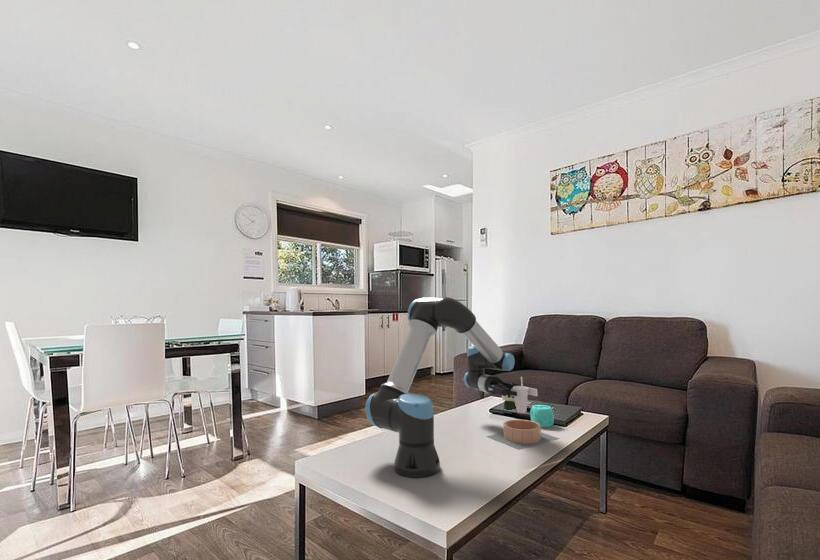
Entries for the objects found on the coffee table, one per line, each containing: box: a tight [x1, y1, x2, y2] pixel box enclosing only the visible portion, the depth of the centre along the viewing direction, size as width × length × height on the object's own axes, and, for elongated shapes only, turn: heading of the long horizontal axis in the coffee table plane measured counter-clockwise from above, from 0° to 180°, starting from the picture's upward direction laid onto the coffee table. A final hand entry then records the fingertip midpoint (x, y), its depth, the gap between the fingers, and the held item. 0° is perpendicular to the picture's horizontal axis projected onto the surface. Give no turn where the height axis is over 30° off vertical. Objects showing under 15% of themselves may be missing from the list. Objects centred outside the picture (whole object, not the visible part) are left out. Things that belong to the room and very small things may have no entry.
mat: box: [485, 431, 560, 451], centre depth 164 cm, size 22×18×1 cm
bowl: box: [502, 419, 542, 444], centre depth 164 cm, size 14×14×5 cm
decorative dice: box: [529, 404, 555, 428], centre depth 181 cm, size 8×8×8 cm
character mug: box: [501, 395, 516, 410], centre depth 202 cm, size 11×7×13 cm, turn 143°
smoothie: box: [513, 376, 530, 414], centre depth 165 cm, size 6×6×14 cm
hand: (530, 394), depth 161 cm, fingers closed on smoothie, 6 cm apart
